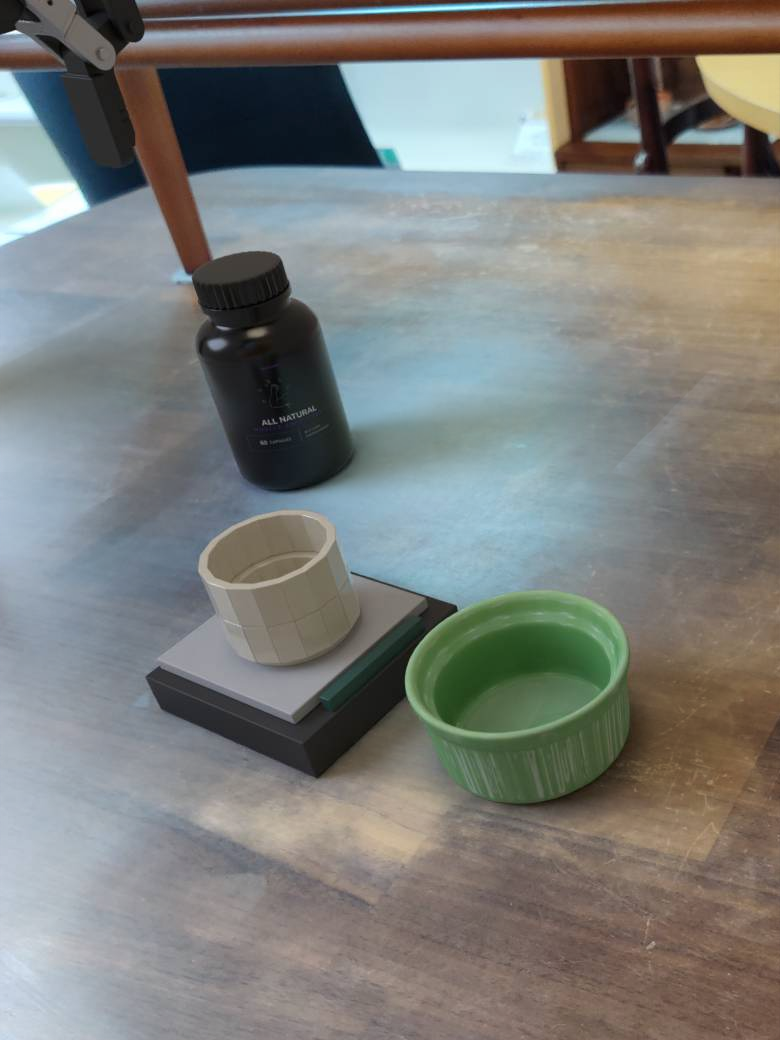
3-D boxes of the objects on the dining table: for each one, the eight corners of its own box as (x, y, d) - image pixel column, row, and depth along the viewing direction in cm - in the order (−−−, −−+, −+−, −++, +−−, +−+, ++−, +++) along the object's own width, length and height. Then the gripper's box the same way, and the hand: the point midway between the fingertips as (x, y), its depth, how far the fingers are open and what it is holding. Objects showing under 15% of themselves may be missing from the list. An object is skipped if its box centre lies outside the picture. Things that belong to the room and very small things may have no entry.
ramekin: (491, 653, 55) (471, 575, 52) (674, 686, 52) (663, 606, 49) (389, 791, 49) (360, 712, 46) (589, 839, 45) (571, 757, 43)
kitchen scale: (160, 709, 55) (138, 665, 53) (314, 587, 61) (298, 544, 59) (316, 778, 50) (297, 732, 48) (466, 638, 56) (454, 593, 54)
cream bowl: (206, 651, 53) (169, 569, 50) (298, 578, 57) (269, 498, 54) (298, 687, 50) (265, 602, 48) (389, 609, 54) (363, 526, 51)
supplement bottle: (304, 503, 67) (234, 300, 60) (218, 482, 70) (141, 287, 63) (381, 443, 72) (324, 247, 64) (296, 426, 75) (232, 237, 67)
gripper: (-343, -275, 34) (-71, 278, 44) (77, -319, 42) (222, 151, 53) (-452, -258, 37) (-177, 250, 48) (-44, -302, 46) (114, 135, 56)
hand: (32, 197), depth 50 cm, fingers open, 8 cm apart
